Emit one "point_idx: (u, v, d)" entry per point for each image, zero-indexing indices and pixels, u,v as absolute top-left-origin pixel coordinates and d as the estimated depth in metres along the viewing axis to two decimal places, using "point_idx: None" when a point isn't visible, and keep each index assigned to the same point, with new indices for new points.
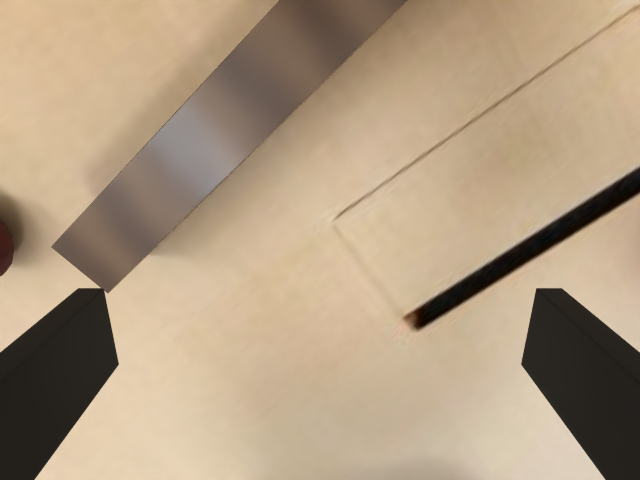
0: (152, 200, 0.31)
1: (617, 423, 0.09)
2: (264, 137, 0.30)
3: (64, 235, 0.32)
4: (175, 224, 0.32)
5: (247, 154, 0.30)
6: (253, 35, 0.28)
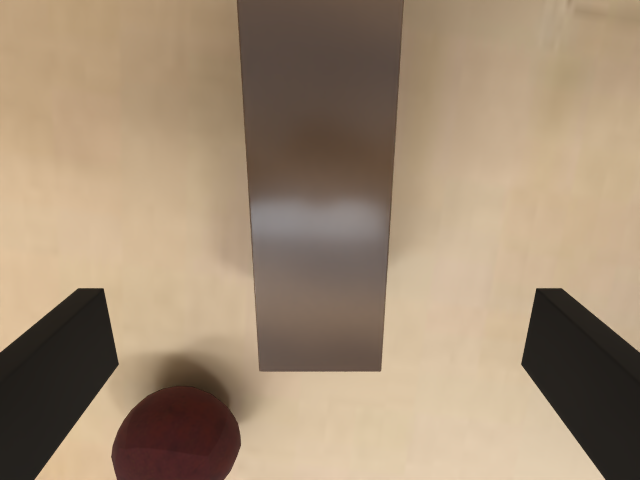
0: (325, 180, 0.16)
1: (617, 423, 0.09)
2: None
3: (261, 342, 0.18)
4: (388, 185, 0.16)
5: None
6: None
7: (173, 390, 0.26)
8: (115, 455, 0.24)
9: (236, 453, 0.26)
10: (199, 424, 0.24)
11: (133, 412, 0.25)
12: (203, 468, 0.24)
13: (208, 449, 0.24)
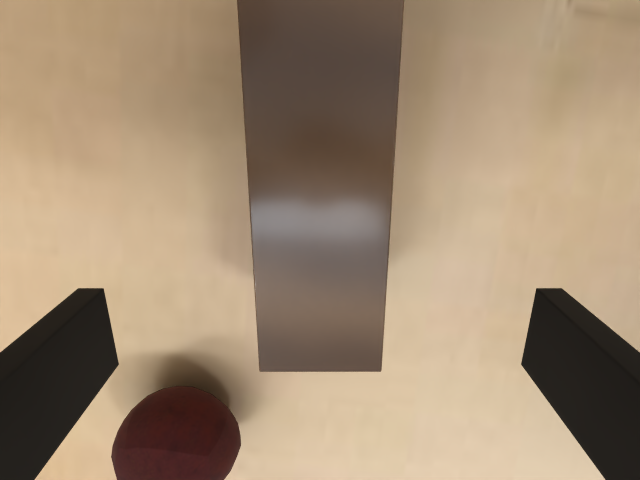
0: (326, 180, 0.16)
1: (617, 423, 0.09)
2: None
3: (261, 342, 0.18)
4: (389, 185, 0.16)
5: None
6: None
7: (173, 390, 0.26)
8: (115, 455, 0.24)
9: (236, 453, 0.26)
10: (199, 424, 0.24)
11: (133, 412, 0.25)
12: (203, 468, 0.24)
13: (208, 449, 0.24)
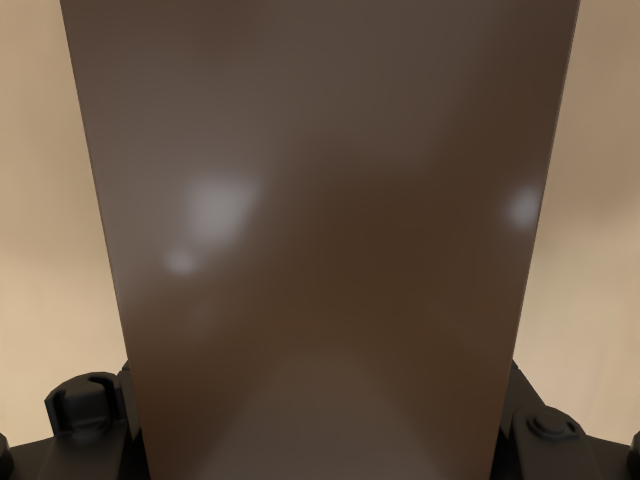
0: (335, 338, 0.06)
1: None
2: None
3: None
4: (506, 347, 0.06)
5: None
6: None
7: None
8: None
9: None
10: None
11: None
12: None
13: None
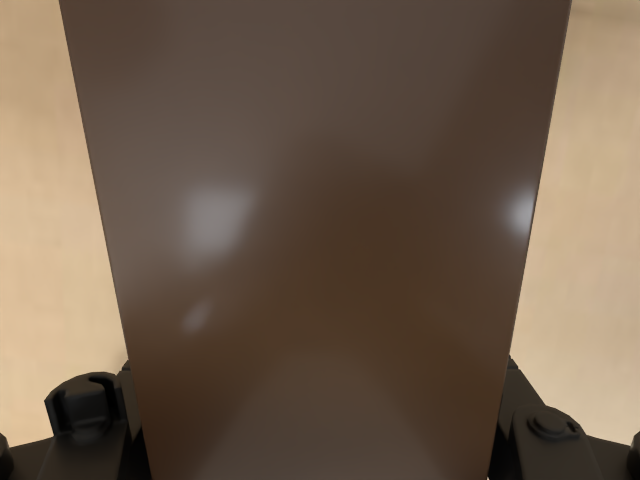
0: (334, 332, 0.06)
1: None
2: None
3: None
4: (503, 341, 0.06)
5: None
6: None
7: None
8: None
9: None
10: None
11: None
12: None
13: None
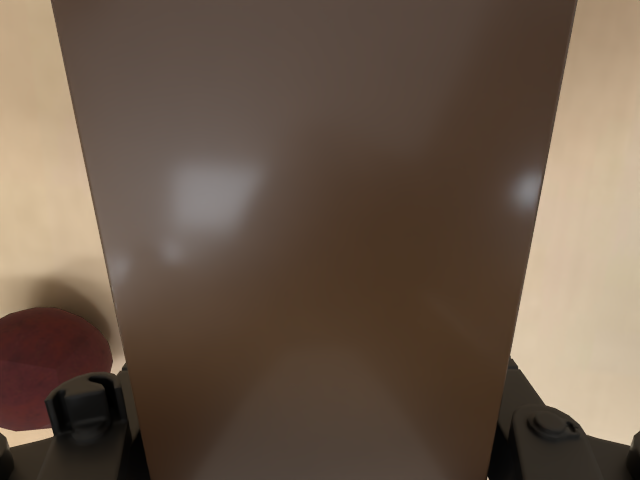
0: (332, 337, 0.06)
1: None
2: None
3: None
4: (503, 346, 0.06)
5: None
6: None
7: (33, 309, 0.25)
8: None
9: None
10: (49, 337, 0.23)
11: None
12: (50, 382, 0.22)
13: (57, 363, 0.23)
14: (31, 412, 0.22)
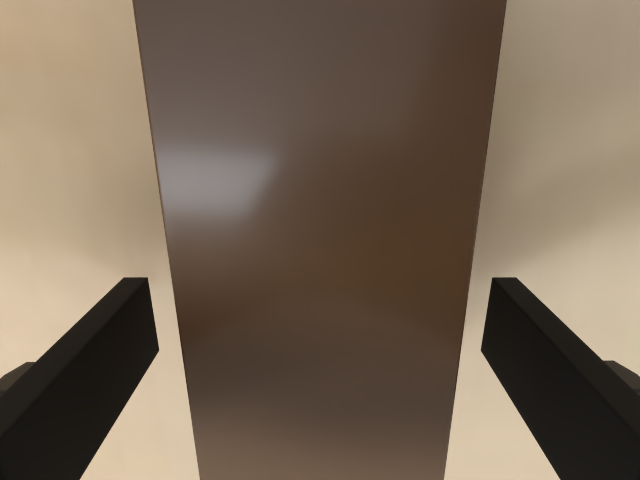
0: (333, 266, 0.08)
1: (552, 399, 0.10)
2: None
3: None
4: (464, 274, 0.08)
5: None
6: None
7: None
8: None
9: None
10: None
11: None
12: None
13: None
14: None
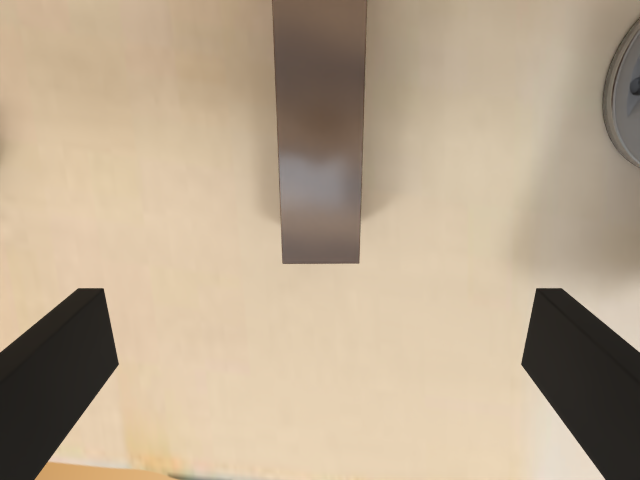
0: (323, 139, 0.27)
1: (617, 423, 0.09)
2: None
3: (284, 243, 0.30)
4: (360, 141, 0.27)
5: (365, 3, 0.24)
6: None
7: None
8: None
9: None
10: None
11: None
12: None
13: None
14: None
